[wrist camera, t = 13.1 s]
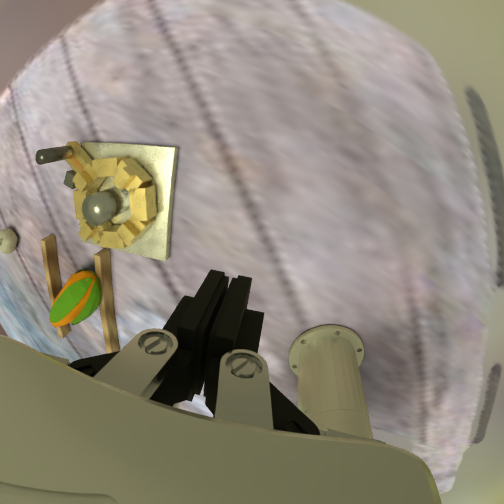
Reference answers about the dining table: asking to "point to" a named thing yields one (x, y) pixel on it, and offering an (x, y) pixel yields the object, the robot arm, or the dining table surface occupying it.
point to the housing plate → (118, 202)
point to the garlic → (7, 241)
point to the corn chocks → (105, 282)
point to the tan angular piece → (125, 178)
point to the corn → (76, 299)
